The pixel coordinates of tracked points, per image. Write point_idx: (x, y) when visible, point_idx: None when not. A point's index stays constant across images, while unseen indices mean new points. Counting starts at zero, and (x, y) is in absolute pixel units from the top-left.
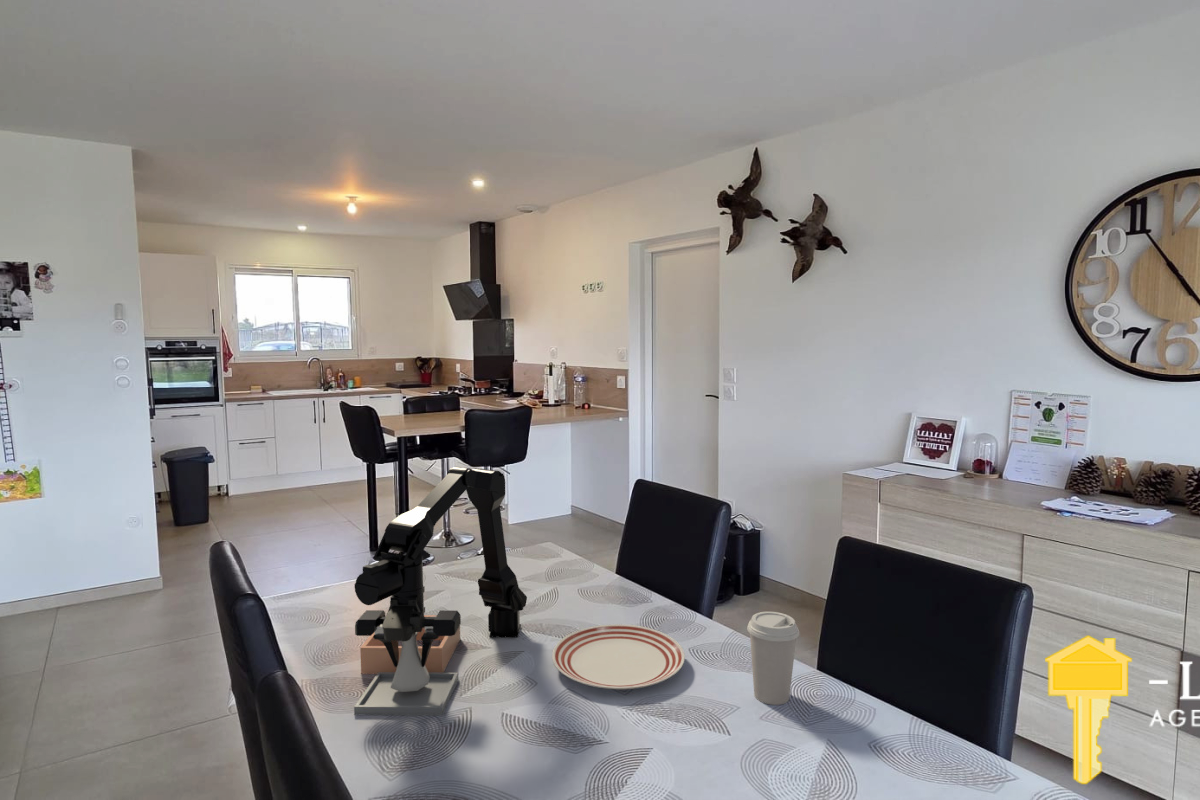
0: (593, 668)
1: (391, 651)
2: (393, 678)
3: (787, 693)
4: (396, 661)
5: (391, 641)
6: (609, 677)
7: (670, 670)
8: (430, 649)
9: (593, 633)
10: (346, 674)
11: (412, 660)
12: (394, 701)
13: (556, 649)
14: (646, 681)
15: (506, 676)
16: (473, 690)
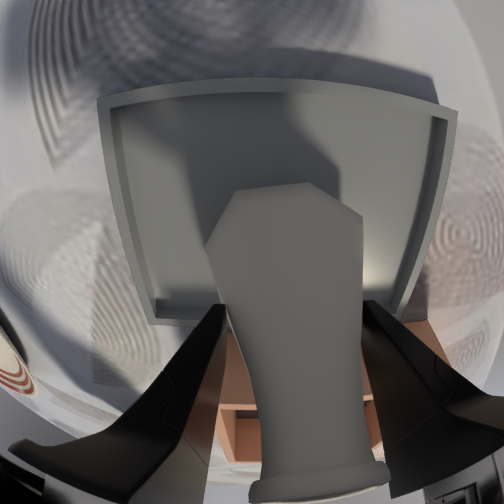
0: None
1: (421, 360)
2: (363, 244)
3: None
4: (372, 320)
5: (445, 421)
6: None
7: None
8: (246, 400)
9: (24, 386)
10: (452, 313)
11: (271, 319)
12: (328, 160)
13: (20, 362)
14: None
15: (60, 312)
16: (87, 256)
